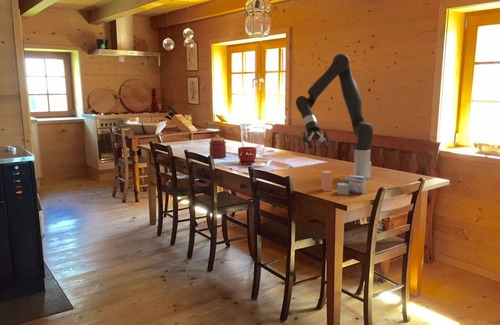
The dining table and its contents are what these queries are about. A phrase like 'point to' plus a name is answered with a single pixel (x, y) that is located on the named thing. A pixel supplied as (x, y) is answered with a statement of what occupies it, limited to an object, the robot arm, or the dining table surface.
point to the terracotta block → (326, 180)
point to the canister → (217, 147)
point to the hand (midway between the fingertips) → (318, 147)
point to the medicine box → (357, 184)
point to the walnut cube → (344, 180)
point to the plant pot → (247, 155)
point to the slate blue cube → (343, 188)
